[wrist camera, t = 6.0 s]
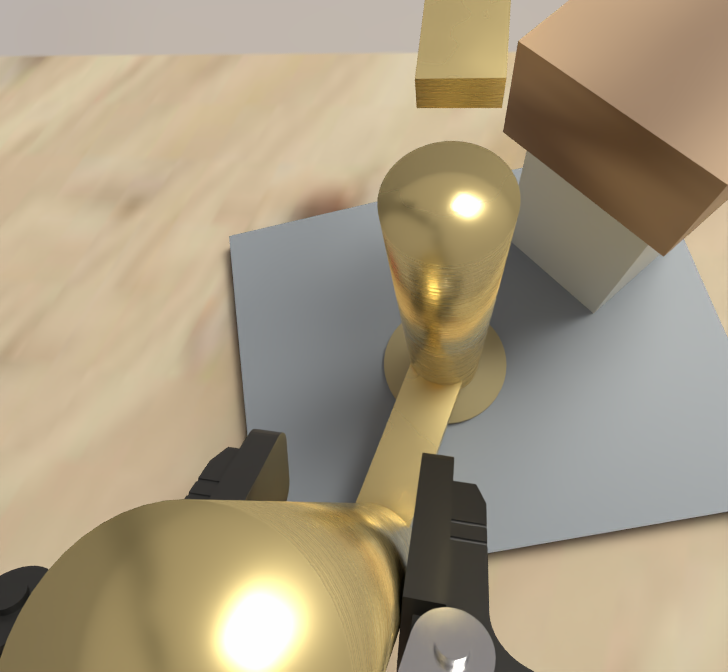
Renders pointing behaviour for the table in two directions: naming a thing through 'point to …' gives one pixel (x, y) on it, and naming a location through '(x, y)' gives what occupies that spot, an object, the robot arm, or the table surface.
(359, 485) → the plate
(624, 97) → the tan squat block
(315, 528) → the latch handle
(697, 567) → the table surface
